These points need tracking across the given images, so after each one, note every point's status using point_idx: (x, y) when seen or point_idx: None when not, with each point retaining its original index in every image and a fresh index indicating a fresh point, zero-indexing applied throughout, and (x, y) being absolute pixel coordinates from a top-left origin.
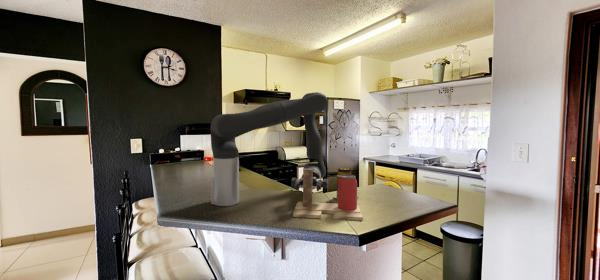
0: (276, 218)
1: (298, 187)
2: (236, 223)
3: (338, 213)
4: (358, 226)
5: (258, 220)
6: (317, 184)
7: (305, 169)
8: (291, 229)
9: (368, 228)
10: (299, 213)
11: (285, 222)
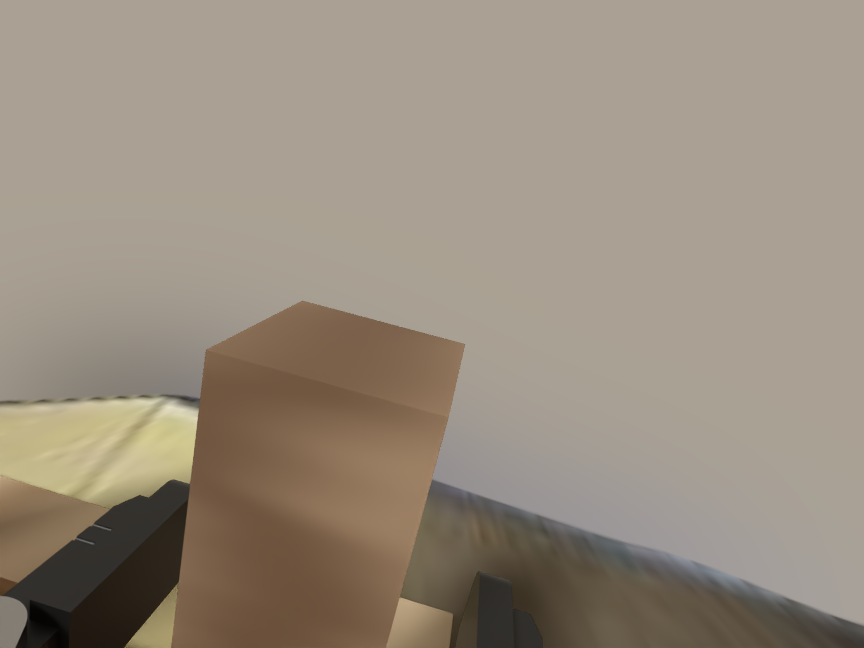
0: (562, 626)
1: (465, 616)
2: (751, 596)
3: (58, 548)
4: (80, 437)
5: (662, 615)
6: (177, 495)
7: (419, 350)
8: (445, 486)
9: (50, 414)
10: (400, 609)
11: (487, 557)
